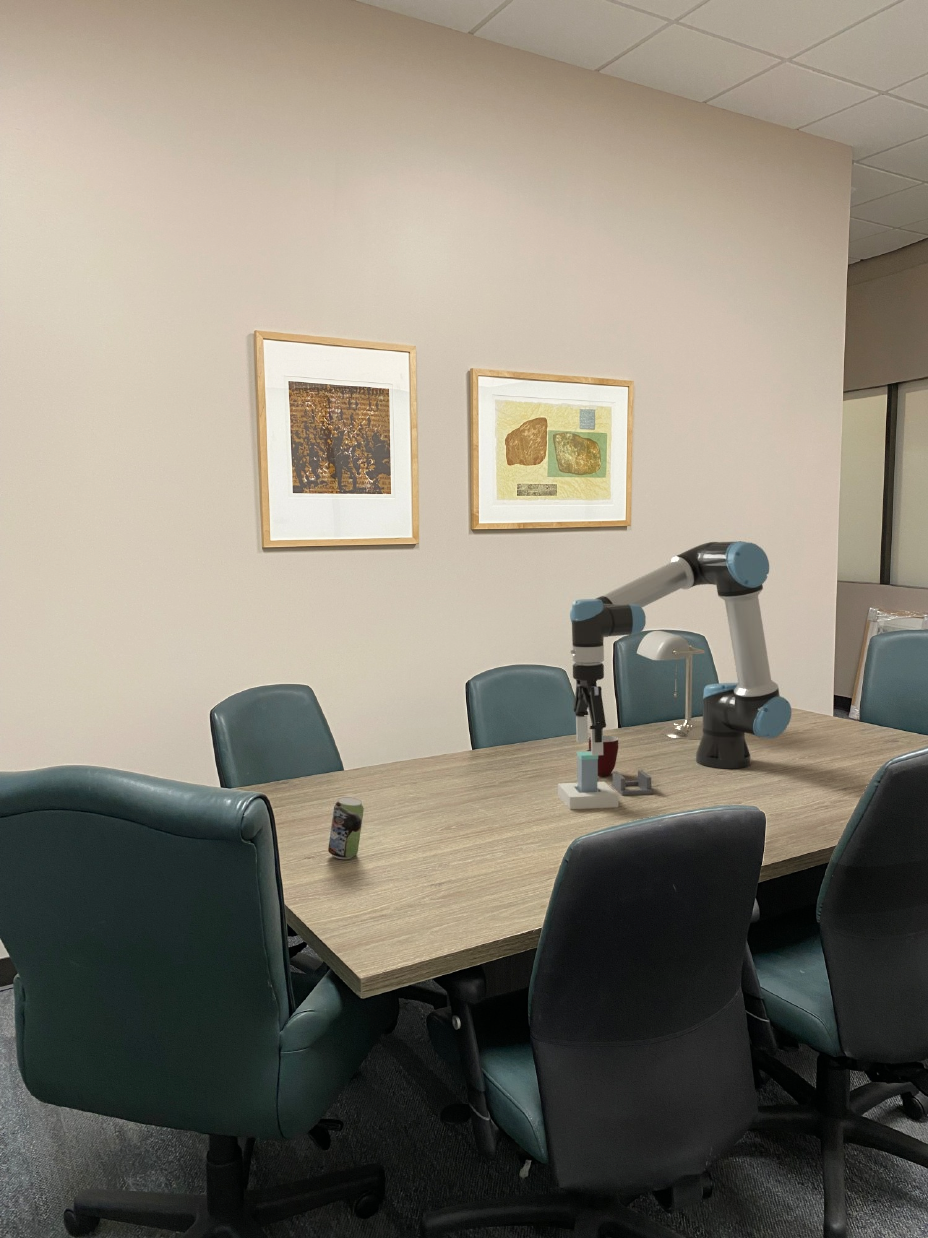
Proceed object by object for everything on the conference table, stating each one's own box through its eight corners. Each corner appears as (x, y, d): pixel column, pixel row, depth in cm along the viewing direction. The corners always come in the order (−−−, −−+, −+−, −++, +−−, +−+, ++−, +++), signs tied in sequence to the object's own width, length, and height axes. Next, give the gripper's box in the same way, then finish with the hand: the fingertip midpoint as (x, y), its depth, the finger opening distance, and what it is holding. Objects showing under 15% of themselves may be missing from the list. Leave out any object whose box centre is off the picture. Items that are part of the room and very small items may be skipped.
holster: (640, 784, 231) (640, 769, 231) (652, 794, 222) (652, 778, 222) (611, 785, 230) (611, 770, 230) (622, 795, 221) (622, 779, 221)
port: (603, 793, 223) (603, 781, 223) (618, 807, 211) (618, 795, 211) (557, 795, 221) (557, 783, 221) (569, 809, 210) (569, 797, 209)
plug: (593, 798, 219) (593, 751, 218) (597, 803, 215) (598, 755, 213) (576, 799, 218) (576, 751, 217) (581, 804, 214) (581, 755, 213)
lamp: (631, 726, 303) (632, 629, 300) (699, 724, 306) (700, 628, 303) (656, 743, 277) (657, 637, 274) (730, 741, 280) (732, 636, 277)
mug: (597, 781, 234) (597, 744, 233) (575, 775, 240) (576, 739, 240) (624, 775, 240) (624, 739, 239) (602, 769, 247) (603, 734, 246)
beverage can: (329, 852, 182) (328, 795, 181) (364, 850, 182) (364, 794, 181) (327, 863, 176) (326, 804, 174) (364, 861, 176) (363, 803, 175)
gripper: (560, 656, 225) (562, 737, 227) (587, 671, 200) (588, 762, 203) (589, 655, 226) (590, 735, 228) (618, 669, 201) (619, 760, 204)
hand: (589, 748), depth 215 cm, fingers open, 13 cm apart
